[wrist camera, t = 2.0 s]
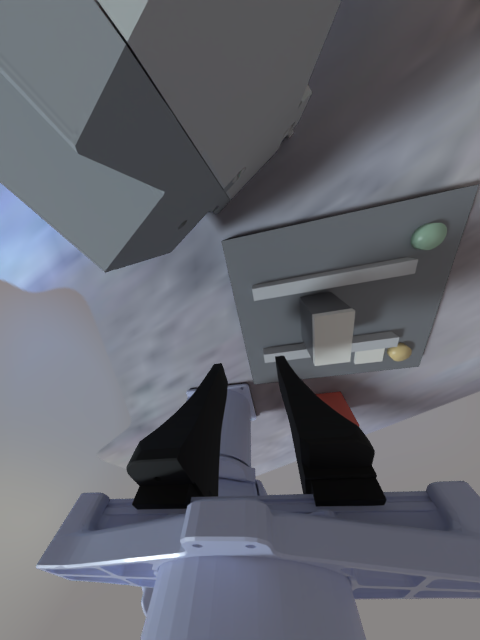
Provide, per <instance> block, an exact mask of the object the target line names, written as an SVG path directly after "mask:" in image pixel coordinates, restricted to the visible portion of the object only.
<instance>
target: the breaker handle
mask: <svg viewBox="0 0 480 640" xmlns="http://www.w3.org/2000/svg"><path fill="white" fill-rule="evenodd" d="M300 315H301V334H302V340H303V342H304V344H305V346H306V349H307V351H308V353H309V355H310V357H311V359H312V361H313V363H314V365H315V366H320V365H328V364H337V363H346V362H350V359H351V349H352V340H353V330H354V320H355V310H354V309H352V308H351V307H350V306H348V305H347V304H346V303H345V302H343V301H342V300H341V299H339V298H338V297H337V296H336V295H334V294H333V293H332V292H327V293H321V294H316V295H310V296H304V297H300Z"/></svg>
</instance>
